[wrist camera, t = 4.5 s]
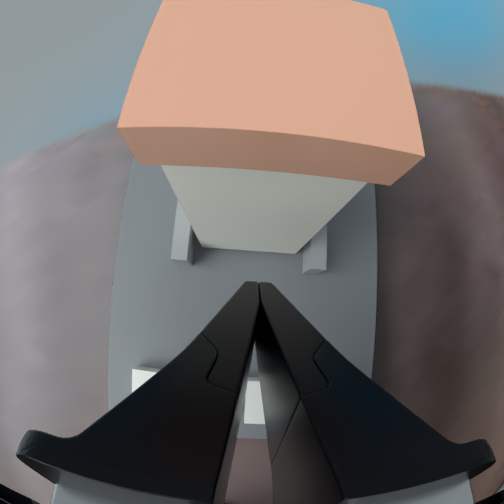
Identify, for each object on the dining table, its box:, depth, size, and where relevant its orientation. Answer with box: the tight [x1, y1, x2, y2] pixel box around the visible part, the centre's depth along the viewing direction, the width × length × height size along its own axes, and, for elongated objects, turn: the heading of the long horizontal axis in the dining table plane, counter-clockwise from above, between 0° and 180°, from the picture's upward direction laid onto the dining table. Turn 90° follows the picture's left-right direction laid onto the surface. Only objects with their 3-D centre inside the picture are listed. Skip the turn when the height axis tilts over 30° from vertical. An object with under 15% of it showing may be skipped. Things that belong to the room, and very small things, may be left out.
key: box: [117, 0, 425, 254], centre depth 12 cm, size 5×6×12 cm
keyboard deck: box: [108, 155, 377, 439], centre depth 17 cm, size 16×15×3 cm
